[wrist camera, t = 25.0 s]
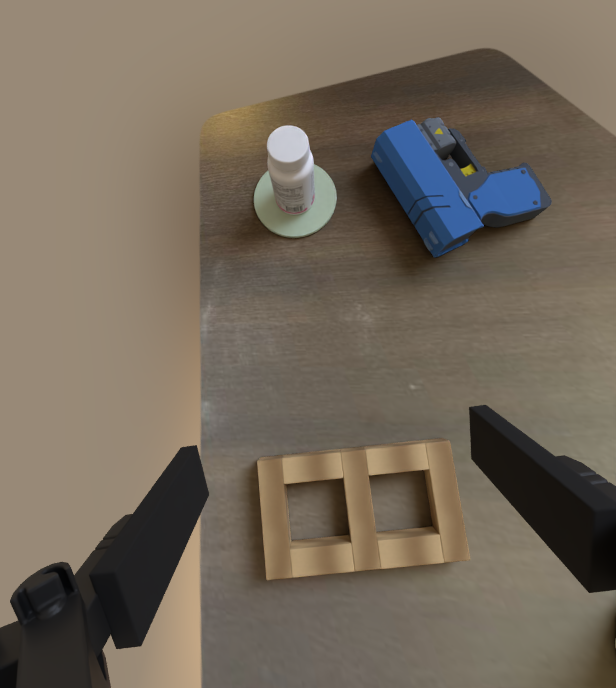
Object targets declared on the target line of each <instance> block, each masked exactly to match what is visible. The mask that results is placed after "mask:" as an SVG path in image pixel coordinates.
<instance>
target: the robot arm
mask: <svg viewBox="0 0 616 688" xmlns="http://www.w3.org/2000/svg"><path fill="white" fill-rule="evenodd" d="M469 414H470V436H471V459H472V460H473V461H474V462H475V464H476V465H477V466H478V467H479V468H480V469H481V470H482V472H483V473H484V474H485V475H486V476H487V477H488V478H489V479H490V481H491V482H492V483H493V484H494V485H495V486H496V487H497V489H498V490H499V491H500V492H501V493H502V494H503V495H504V497H505V498H506V499H507V500H508V501H509V502H510V503H511V505H512V506H513V507H514V508H515V509H516V510H517V511H518V513H519V514H520V515H521V516H522V517H523V518H524V519H525V520H526V522H527V523H528V524H529V525H530V526H531V527H532V528H533V530H534V531H535V532H536V533H537V534H538V535H539V536H540V538H541V539H542V540H543V541H544V542H545V543H546V544H547V546H548V547H549V548H550V549H551V550H552V551H553V552H554V554H555V555H556V556H557V557H558V558H559V559H560V560H561V561H562V563H563V564H564V565H565V566H566V567H567V568H568V569H569V571H570V572H571V573H572V574H573V575H574V576H575V577H576V579H577V580H578V581H579V582H580V583H581V584H582V585H583V587H584V588H585V589H586V590H587V591H588V592H589V593H593V592H601V591H610V590H616V486H615V485H613V484H612V483H610V482H609V483H608V482H607V480H606V479H604V478H603V477H602V476H600V475H599V474H596V472H594V471H593V470H591V469H590V468H589V467H587V466H586V465H584V464H583V463H581V462H579V461H576V460H574V459H572V458H569V457H567V456H565V455H564V456H557V457H555V456H554V455H553V454H551V453H550V452H548V451H547V450H546V449H544V448H543V447H542V446H540V445H539V444H538V443H536V442H535V441H534V440H532V439H531V438H530V437H528V436H527V435H526V434H524V433H523V432H522V431H520V430H519V429H518V428H516V427H515V426H513V425H512V424H511V423H509V422H508V421H507V420H505V419H504V418H503V417H501V416H500V415H499V414H497V413H496V412H495V411H493V410H492V409H491V408H489V407H488V406H487V405H481V406H473V407H469ZM208 496H209V492H208V488H207V484H206V480H205V476H204V472H203V468H202V464H201V460H200V456H199V452H198V448H197V445H195V446H187V447H182V448H180V450H179V451H178V453H177V454H176V455H175V457H174V458H173V460H172V461H171V462H170V464H169V465H168V466H167V468H166V469H165V470H164V472H163V473H162V475H161V476H160V477H159V479H158V480H157V481H156V483H155V484H154V486H153V487H152V488H151V490H150V491H149V492H148V494H147V495H146V497H145V498H144V499H143V501H142V502H141V503H140V505H139V506H138V508H137V509H136V510H135V512H134V513H133V514H129V515H125V516H124V517H123V518H122V519H120V520H119V521H118V522H117V523H116V524H114V525H113V526H112V527H111V529H110V530H109V531H108V532H107V534H106V535H105V537H104V538H103V540H102V541H101V542H100V543H99V544H98V545H97V547H96V548H95V550H94V551H93V552H92V553H91V554H90V556H89V557H88V559H87V560H86V561H85V562H84V563H83V565H82V566H81V568H80V569H79V570H78V571H77V573H76V574H75V575H73V572H72V569H71V567H70V565H69V564H68V563H65V562H59V563H54V564H51V565H49V566H47V567H44V568H42V569H41V570H39V571H37V572H36V573H34V574H33V575H31V576H30V577H29V578H27V579H26V580H25V581H24V582H23V583H22V584H20V586H19V587H18V588H17V590H16V591H15V592H14V593H13V595H12V597H11V600H10V603H11V605H12V607H13V609H14V612H15V614H16V616H17V618H18V621H16V622H13V623H11V624H8V625H6V626H3V627H1V628H0V688H111V686H110V680H109V675H108V668H107V663H106V658H105V655H104V652H103V650H102V649H103V647H104V645H105V644H106V642H107V640H108V638H109V636H110V635H111V636H112V639H113V641H114V644H115V647H116V649H122V648H130V647H138V646H141V645H142V643H143V641H144V639H145V637H146V634H147V632H148V630H149V628H150V625H151V623H152V621H153V619H154V616H155V614H156V612H157V610H158V607H159V605H160V603H161V601H162V599H163V596H164V594H165V592H166V590H167V587H168V585H169V583H170V580H171V578H172V576H173V574H174V572H175V569H176V567H177V565H178V563H179V560H180V558H181V556H182V554H183V552H184V549H185V547H186V545H187V543H188V540H189V538H190V536H191V533H192V531H193V529H194V527H195V525H196V523H197V520H198V518H199V516H200V514H201V511H202V509H203V507H204V505H205V502H206V500H207V498H208Z"/></svg>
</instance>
